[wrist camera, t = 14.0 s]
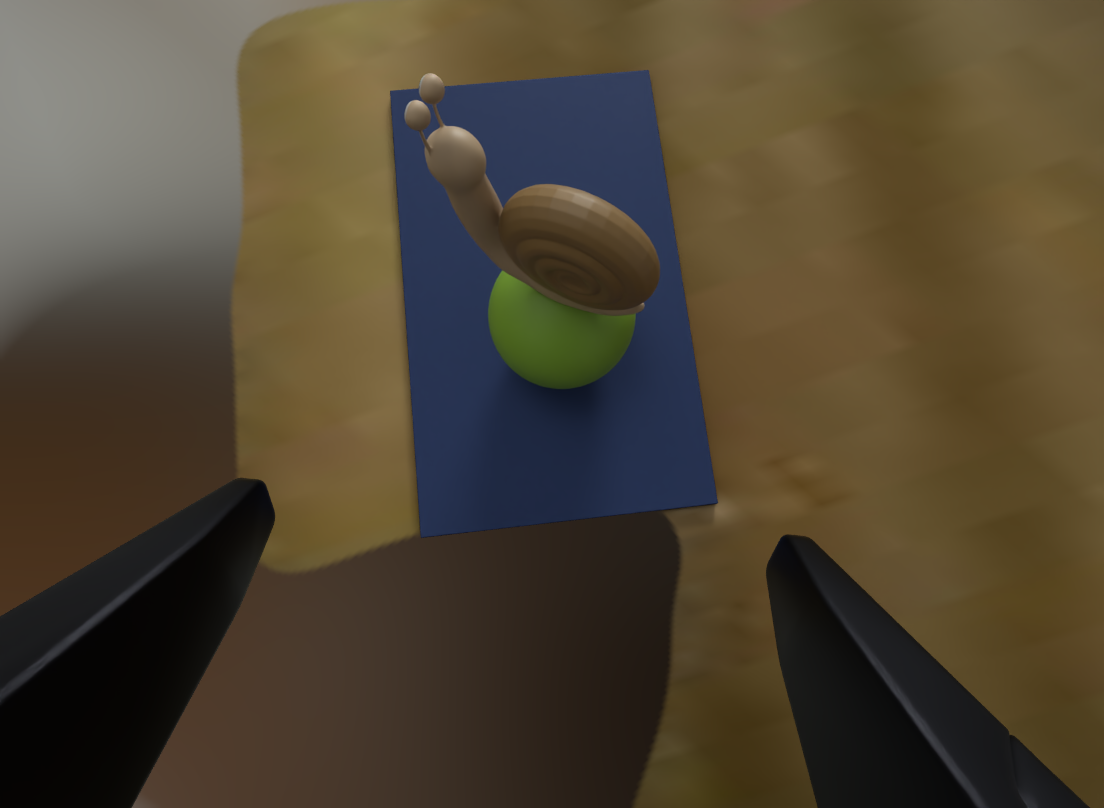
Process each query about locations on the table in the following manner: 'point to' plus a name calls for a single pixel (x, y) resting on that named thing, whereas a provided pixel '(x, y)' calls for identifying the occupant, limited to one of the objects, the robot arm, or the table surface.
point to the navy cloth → (470, 354)
